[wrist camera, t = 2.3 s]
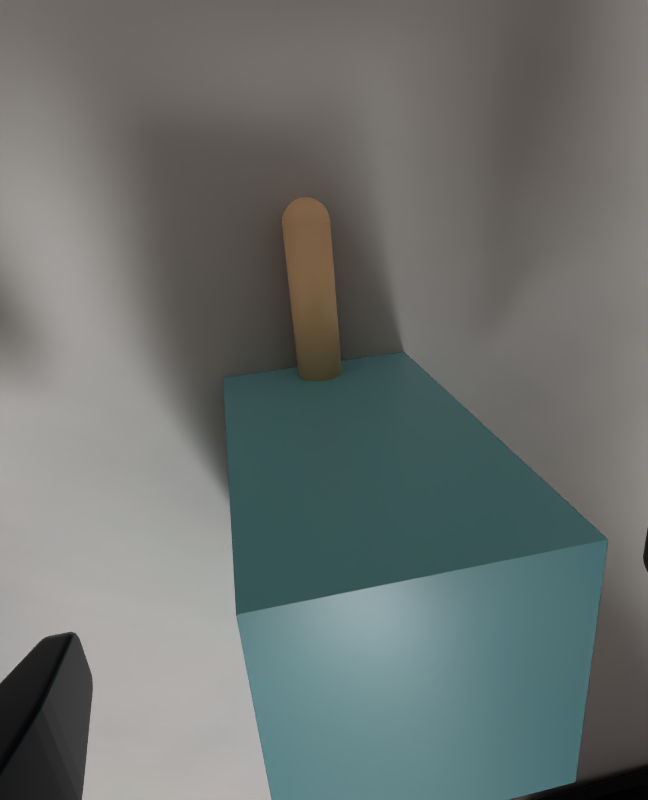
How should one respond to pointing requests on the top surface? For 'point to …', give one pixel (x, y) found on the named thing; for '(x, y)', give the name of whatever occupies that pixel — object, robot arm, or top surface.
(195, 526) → the top surface
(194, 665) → the top surface
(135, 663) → the top surface
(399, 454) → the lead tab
